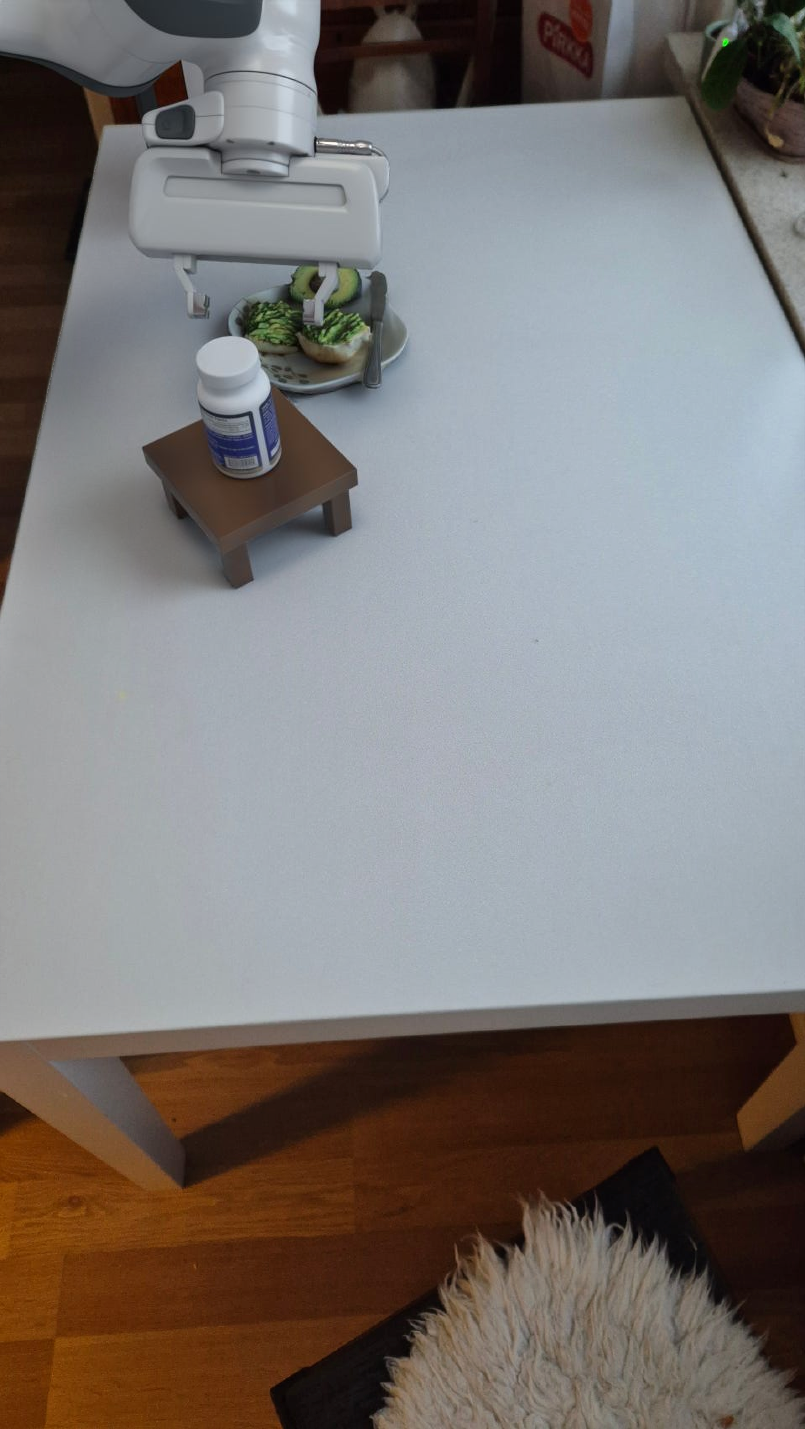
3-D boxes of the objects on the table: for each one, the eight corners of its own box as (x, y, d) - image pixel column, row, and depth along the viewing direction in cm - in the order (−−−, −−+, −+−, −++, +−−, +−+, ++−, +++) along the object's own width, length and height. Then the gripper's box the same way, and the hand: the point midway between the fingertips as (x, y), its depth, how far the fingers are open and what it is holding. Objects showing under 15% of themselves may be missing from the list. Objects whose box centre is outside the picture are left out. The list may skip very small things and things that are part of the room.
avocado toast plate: (451, 377, 99) (452, 337, 95) (281, 432, 95) (275, 392, 91) (371, 272, 108) (369, 231, 105) (214, 318, 105) (206, 278, 101)
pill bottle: (251, 423, 85) (232, 320, 77) (296, 456, 83) (281, 353, 75) (198, 458, 83) (172, 356, 75) (242, 492, 81) (221, 391, 72)
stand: (233, 597, 84) (218, 539, 78) (159, 507, 90) (141, 446, 84) (362, 529, 88) (357, 469, 82) (283, 446, 94) (274, 385, 88)
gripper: (393, 154, 82) (384, 334, 85) (144, 141, 83) (144, 320, 86) (389, 128, 76) (379, 322, 79) (121, 114, 77) (121, 308, 80)
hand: (255, 321), depth 83 cm, fingers open, 8 cm apart
